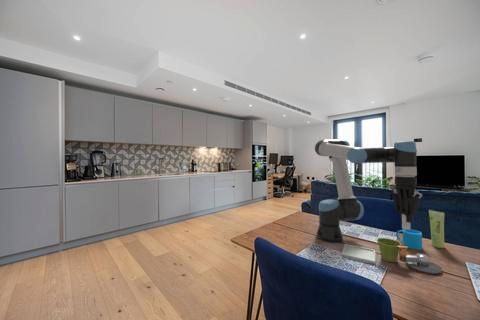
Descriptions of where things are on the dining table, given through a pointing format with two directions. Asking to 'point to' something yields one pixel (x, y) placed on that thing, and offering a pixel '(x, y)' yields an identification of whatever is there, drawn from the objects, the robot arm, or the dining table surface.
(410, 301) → the dining table surface
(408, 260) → the crank
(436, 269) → the crank plate
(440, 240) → the tube
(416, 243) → the mug
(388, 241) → the plant pot
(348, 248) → the tray
